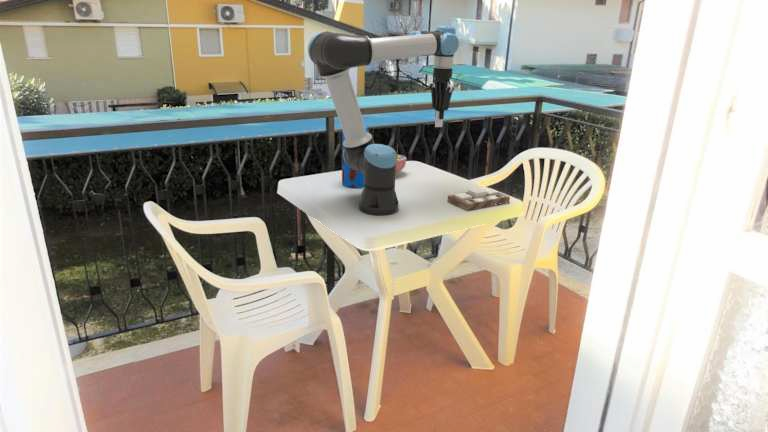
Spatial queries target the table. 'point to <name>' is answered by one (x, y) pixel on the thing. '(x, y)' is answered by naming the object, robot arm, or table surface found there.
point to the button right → (491, 192)
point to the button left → (462, 196)
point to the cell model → (400, 162)
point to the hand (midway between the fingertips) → (438, 126)
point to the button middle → (476, 193)
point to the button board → (478, 201)
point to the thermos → (351, 172)
